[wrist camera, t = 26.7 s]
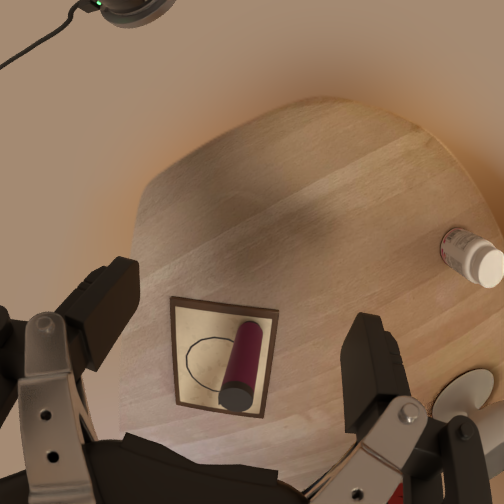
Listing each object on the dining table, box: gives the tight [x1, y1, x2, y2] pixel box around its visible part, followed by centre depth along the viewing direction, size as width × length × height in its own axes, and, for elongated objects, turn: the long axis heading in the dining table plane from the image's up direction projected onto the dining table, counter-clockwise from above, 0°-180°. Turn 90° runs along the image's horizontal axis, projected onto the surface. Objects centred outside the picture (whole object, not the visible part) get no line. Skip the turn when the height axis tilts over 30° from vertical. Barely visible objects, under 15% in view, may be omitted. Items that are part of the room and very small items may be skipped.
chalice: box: [432, 369, 504, 480], centre depth 30 cm, size 14×14×15 cm
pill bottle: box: [441, 228, 504, 288], centre depth 28 cm, size 5×5×8 cm
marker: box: [218, 321, 263, 412], centre depth 30 cm, size 3×3×12 cm
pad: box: [170, 296, 279, 419], centre depth 39 cm, size 13×18×1 cm
